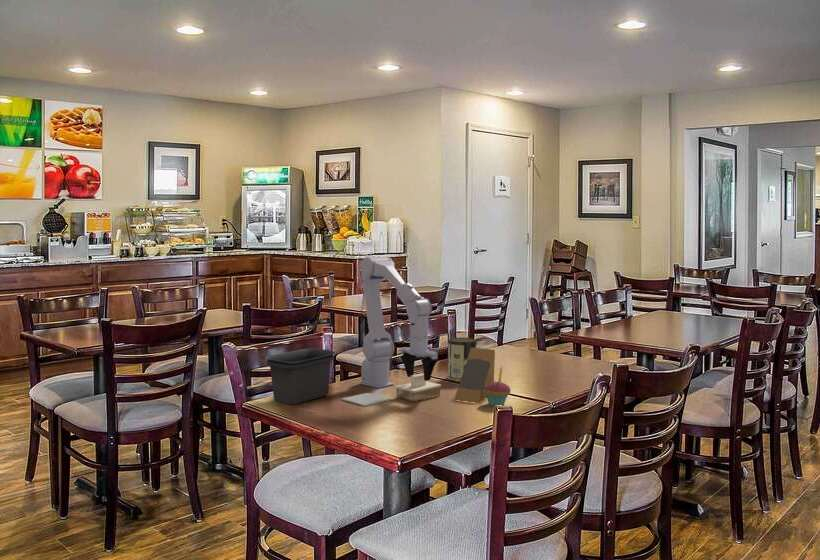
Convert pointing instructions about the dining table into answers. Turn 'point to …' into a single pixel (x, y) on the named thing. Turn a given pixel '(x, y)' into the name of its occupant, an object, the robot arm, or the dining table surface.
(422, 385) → the lid
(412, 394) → the box
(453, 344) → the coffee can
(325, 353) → the storage bin
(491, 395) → the cupcake
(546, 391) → the dining table surface
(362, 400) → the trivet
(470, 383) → the sandwich container
